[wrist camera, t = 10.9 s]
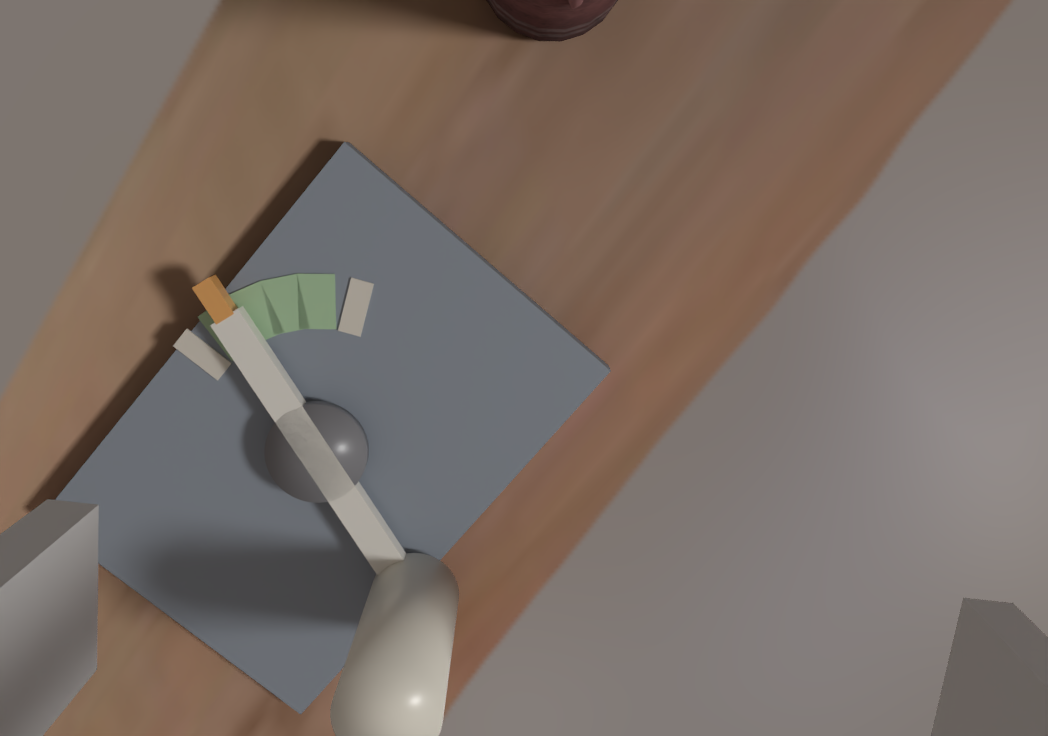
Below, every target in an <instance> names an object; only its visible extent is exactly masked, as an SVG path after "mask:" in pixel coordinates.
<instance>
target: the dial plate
mask: <svg viewBox="0 0 1048 736" xmlns="http://www.w3.org/2000/svg"><path fill="white" fill-rule="evenodd" d="M225 290H226V291H227V293H228V294H229V296H230V297H231V299H232V300H233V302H234V303H235V305H236V306H237V308H240V307H242V306H243V307H244V308H245V310H246V311H247V313H248V314H249V316H250V317H251V319H252V320H253V322H254V323H255V325H256V326H257V328H258V329H259V331H260V333H261V334H262V336H263V337H264V339H265V340H266V342H267V343H268V345H269V346H270V348H271V349H272V351H273V352H274V354H275V355H276V357H277V358H278V360H279V361H280V363H281V364H282V366H283V367H284V369H285V370H286V372H287V373H288V375H289V376H290V378H291V380H292V381H293V383H294V384H295V386H296V387H297V389H298V390H299V392H300V393H301V395H302V396H303V398H304V399H305V401H306V402H309V401H325V402H330V403H333V404H336V405H339V406H341V407H343V408H344V409H346V410H347V411H349V412H350V413H351V414H352V415H353V416H354V417H355V418H356V419H357V420H358V421H359V422H360V424H361V425H362V427H363V429H364V431H365V433H366V436H367V440H368V445H369V456H368V462H367V465H366V468H365V470H364V472H363V474H362V476H361V478H360V480H359V483H360V484H361V486H362V487H363V489H364V490H365V492H366V493H367V495H368V496H369V498H370V499H371V501H372V502H373V504H374V505H375V507H376V508H377V510H378V511H379V513H380V514H381V516H382V517H383V519H384V520H385V522H386V524H387V525H388V527H389V528H390V530H391V531H392V533H393V534H394V536H395V537H396V539H397V540H398V542H399V543H400V545H401V546H402V548H403V549H404V551H405V552H406V554H407V553H422V554H426V555H430V556H432V557H435V558H437V559H438V560H441V558H442V557H443V556H444V555H445V554H446V553H447V552H448V551H449V550H450V549H451V547H452V546H453V545H454V544H455V543H456V542H457V541H458V540H459V539H460V537H461V536H462V535H463V534H464V533H465V532H466V531H467V530H468V529H469V527H470V526H471V525H472V524H473V523H474V522H475V521H476V520H477V519H478V517H479V516H480V515H481V514H482V513H483V512H484V511H485V510H486V509H487V508H488V506H489V505H490V504H491V503H492V502H493V501H494V500H495V499H496V498H497V496H498V495H499V494H500V493H501V492H502V491H503V490H504V489H505V488H506V486H507V485H508V484H509V483H510V482H511V481H512V480H513V479H514V478H515V477H516V475H517V474H518V473H519V472H520V471H521V470H522V469H523V468H524V467H525V465H526V464H527V463H528V462H529V461H530V460H531V459H532V458H533V457H534V455H535V454H536V453H537V452H538V451H539V450H540V449H541V448H542V447H543V445H544V444H545V443H546V442H547V441H548V440H549V439H550V438H551V437H552V436H553V434H554V433H555V432H556V431H557V430H558V429H559V428H560V427H561V426H562V424H563V423H564V422H565V421H566V420H567V419H568V418H569V417H570V416H571V414H572V413H573V412H574V411H575V410H576V409H577V408H578V407H579V406H580V404H581V403H582V402H583V401H584V400H585V399H586V398H587V397H588V396H589V395H590V393H591V392H592V391H593V390H594V389H595V388H596V387H597V386H598V385H599V383H600V382H601V381H602V380H603V379H604V378H605V377H606V376H607V375H608V373H609V372H610V371H611V370H610V368H609V366H608V365H607V364H606V363H605V362H604V361H603V360H601V359H600V358H599V357H598V356H597V355H596V354H594V353H593V352H592V351H591V350H590V349H589V348H587V347H586V346H585V345H584V344H583V343H582V342H581V341H579V340H578V339H577V338H576V337H575V336H574V335H572V334H571V333H570V332H569V331H568V330H567V329H565V328H564V327H563V326H562V325H561V324H560V323H558V322H557V321H556V320H555V319H554V318H553V317H551V316H550V315H549V314H548V313H547V312H546V311H544V310H543V309H542V308H541V307H540V306H539V305H538V304H536V303H535V302H534V301H533V300H532V299H531V298H529V297H528V296H527V295H526V294H525V293H524V292H522V291H521V290H520V289H519V288H518V287H517V286H515V285H514V284H513V283H512V282H511V281H510V280H508V279H507V278H506V277H505V276H504V275H503V274H501V273H500V272H499V271H498V270H497V269H496V268H495V267H493V266H492V265H491V264H490V263H489V262H488V261H486V260H485V259H484V258H483V257H482V256H481V255H479V254H478V253H477V252H476V251H475V250H474V249H472V248H471V247H470V246H469V245H468V244H467V243H465V242H464V241H463V240H462V239H461V238H460V237H458V236H457V235H456V234H455V233H454V232H453V231H452V230H450V229H449V228H448V227H447V226H446V225H445V224H443V223H442V222H441V221H440V220H439V219H438V218H436V217H435V216H434V215H433V214H432V213H431V212H429V211H428V210H427V209H426V208H425V207H424V206H422V205H421V204H420V203H419V202H418V201H417V200H415V199H414V198H413V197H412V196H411V195H410V194H409V193H407V192H406V191H405V190H404V189H403V188H402V187H400V186H399V185H398V184H397V183H396V182H395V181H393V180H392V179H391V178H390V177H389V176H388V175H386V174H385V173H384V172H383V171H382V170H381V169H379V168H378V167H377V166H376V165H375V164H374V163H372V162H371V161H370V160H369V159H368V158H367V157H366V156H364V155H363V154H362V153H361V152H360V151H359V150H357V149H356V148H355V147H354V146H353V145H352V144H350V143H349V142H344V143H343V144H342V145H341V147H340V148H339V149H338V150H337V152H336V153H335V154H334V155H333V157H332V158H331V159H330V160H329V161H328V163H327V164H326V165H325V166H324V168H323V169H322V170H321V171H320V173H319V174H318V175H317V176H316V178H315V179H314V180H313V181H312V183H311V184H310V185H309V186H308V187H307V189H306V190H305V191H304V192H303V194H302V195H301V196H300V197H299V199H298V200H297V201H296V202H295V204H294V205H293V206H292V207H291V208H290V210H289V211H288V212H287V213H286V215H285V216H284V217H283V218H282V220H281V221H280V222H279V223H278V225H277V226H276V227H275V228H274V230H273V231H272V232H271V233H270V234H269V236H268V237H267V238H266V239H265V241H264V242H263V243H262V244H261V246H260V247H259V248H258V249H257V251H256V252H255V253H254V254H253V255H252V257H251V258H250V259H249V260H248V262H247V263H246V264H245V265H244V267H243V268H242V269H241V270H240V272H239V273H238V274H237V275H236V277H235V278H234V279H233V280H232V281H231V283H230V284H229V285H228V286H227V288H226V289H225ZM198 319H199V320H200V321H199V322H198V324H197V325H196V326H195V327H194V328H193V330H192V331H190V330H189V329H186V330H185V331H184V333H183V334H182V335H181V336H180V338H179V339H178V340H177V342H176V343H175V344H174V345H173V347H175V348H176V349H177V350H176V351H175V352H174V353H173V354H172V356H171V357H170V358H169V359H168V361H167V362H166V363H165V364H164V366H163V367H162V368H161V369H160V371H159V372H158V373H157V374H156V375H155V377H154V378H153V379H152V380H151V382H150V383H149V384H148V385H147V387H146V388H145V389H144V390H143V392H142V393H141V394H140V395H139V397H138V398H137V399H136V400H135V401H134V403H133V404H132V405H131V406H130V408H129V409H128V410H127V411H126V413H125V414H124V415H123V416H122V418H121V419H120V420H119V421H118V422H117V424H116V425H115V426H114V427H113V429H112V430H111V431H110V432H109V434H108V435H107V436H106V437H105V439H104V440H103V441H102V442H101V444H100V445H99V446H98V447H97V448H96V450H95V451H94V452H93V453H92V455H91V456H90V457H89V458H88V460H87V461H86V462H85V463H84V465H83V466H82V467H81V468H80V469H79V471H78V472H77V473H76V474H75V476H74V477H73V478H72V479H71V481H70V482H69V483H68V484H67V486H66V487H65V488H64V489H63V491H62V492H61V493H60V494H59V495H58V497H57V498H56V499H55V500H60V501H69V502H78V503H88V504H97V505H99V523H98V563H99V564H100V565H102V566H103V567H104V568H106V569H107V570H108V571H110V572H111V573H112V574H114V575H115V576H116V577H118V578H119V579H120V580H122V581H123V582H124V583H126V584H127V585H128V586H130V587H131V588H132V589H134V590H135V591H136V592H138V593H139V594H140V595H142V596H143V597H144V598H146V599H147V600H148V601H150V602H151V603H152V604H154V605H155V606H156V607H158V608H159V609H160V610H162V611H163V612H164V613H166V614H167V615H168V616H170V617H171V618H172V619H174V620H175V621H176V622H178V623H179V624H180V625H182V626H183V627H184V628H186V629H187V630H188V631H190V632H191V633H192V634H194V635H195V636H197V637H198V638H199V639H201V640H202V641H203V642H205V643H206V644H207V645H209V646H210V647H211V648H213V649H214V650H215V651H217V652H218V653H219V654H221V655H222V656H223V657H225V658H226V659H227V660H229V661H230V662H231V663H233V664H234V665H235V666H237V667H238V668H239V669H241V670H242V671H243V672H245V673H246V674H247V675H249V676H250V677H251V678H253V679H254V680H255V681H257V682H258V683H259V684H261V685H262V686H263V687H265V688H266V689H267V690H269V691H270V692H271V693H273V694H274V695H275V696H277V697H278V698H279V699H281V700H282V701H283V702H285V703H286V704H287V705H289V706H290V707H291V708H293V709H294V710H295V711H297V712H298V713H299V714H302V713H303V711H304V710H305V709H306V708H307V707H308V706H309V705H310V704H311V703H312V701H313V700H314V699H315V698H316V697H317V696H318V695H319V694H320V693H321V691H322V690H323V689H324V688H325V687H326V686H327V685H328V684H329V683H330V681H331V680H332V679H333V678H334V677H335V676H336V675H337V674H338V673H339V672H340V670H341V669H342V668H343V667H344V665H345V662H346V659H347V656H348V653H349V650H350V647H351V644H352V642H353V639H354V636H355V633H356V630H357V627H358V624H359V621H360V618H361V615H362V612H363V609H364V606H365V603H366V601H367V598H368V595H369V592H370V589H371V586H372V583H373V580H374V578H375V576H376V572H375V571H374V570H373V568H372V567H371V565H370V564H369V562H368V561H367V559H366V558H365V556H364V555H363V553H362V552H361V550H360V549H359V547H358V546H357V544H356V543H355V541H354V540H353V538H352V537H351V535H350V534H349V532H348V531H347V529H346V528H345V526H344V525H343V523H342V522H341V520H340V519H339V517H338V516H337V514H336V513H335V511H334V510H333V508H332V507H331V505H330V504H329V502H322V503H313V502H306V501H302V500H299V499H297V498H294V497H292V496H291V495H289V494H287V493H286V492H285V491H283V490H282V489H281V488H280V487H279V486H278V485H277V484H276V483H275V481H274V480H273V479H272V477H271V475H270V473H269V471H268V469H267V466H266V462H265V455H264V449H265V442H266V438H267V435H268V433H269V431H270V429H271V428H272V426H273V425H274V423H275V422H274V420H273V419H272V417H271V416H270V414H269V413H268V411H267V410H266V408H265V407H264V405H263V404H262V402H261V401H260V399H259V398H258V396H257V395H256V393H255V392H254V390H253V389H252V387H251V386H250V384H249V383H248V381H247V380H246V378H245V377H244V375H243V374H242V372H241V371H240V369H239V368H238V366H237V365H236V363H235V362H234V360H233V359H232V357H231V356H230V354H229V353H228V352H227V350H226V349H225V347H224V346H223V344H222V343H221V341H220V340H219V338H218V337H217V335H216V334H215V332H214V331H213V329H212V328H211V326H210V325H212V324H213V323H215V322H214V321H213V319H212V318H211V316H210V315H209V313H208V312H207V310H206V311H205V312H203V313H202V314H201V315H199V316H198Z"/></svg>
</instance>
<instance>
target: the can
mask: <svg viewBox="0 0 1048 736" xmlns="http://www.w3.org/2000/svg"><path fill="white" fill-rule="evenodd" d="M487 1H488V3H489V4H490V6H491V8H492V9H493V11H494V12H495V14H496V15H497V17H498V18H499V19H500V20H502V21H503V22H504V23H505V24H507V25H508V26H509V27H510V28H512V29H513V30H514V31H515V32H517V33H519V34H522V35H525V36H527V37H530V38H533V39H535V40H538V41H564V40H567V39H570V38H573V37H577V36H580V35H583V34H585V33H586V32H587V31H589V30H590V29H592V28H593V27H595V26H596V25H597V24H599V23H600V22H602V21H603V19H604V18H605V17H606V15H607V14H608V13H609V11H610V10H611V9H612V7H613V6H614V5H615V4H616V2H617V1H618V0H487Z"/></svg>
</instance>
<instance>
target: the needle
mask: <svg viewBox="0 0 1048 736" xmlns="http://www.w3.org/2000/svg"><path fill="white" fill-rule="evenodd" d="M192 289H193V291H194V292H195V294H196V295H197V297H198V298H199V300H200V301H201V303H202V304H203V306H204V307H205V309H206V310H207V312H208V313H209V315H210V316H211V318H212V319H213V321H214V322H215V323H213V324H212V325H210V326H211V328H212V329H213V331H214V332H215V334H216V335H217V337H218V338H219V340H220V341H221V343H222V344H223V346H224V347H225V349H226V350H227V352H228V353H229V354H230V356H231V357H232V359H233V360H234V362H235V363H236V365H237V366H238V368H239V369H240V371H241V372H242V374H243V375H244V377H245V378H246V380H247V381H248V383H249V384H250V386H251V387H252V389H253V390H254V392H255V393H256V395H257V396H258V398H259V399H260V401H261V402H262V404H263V405H264V407H265V408H266V410H267V411H268V413H269V414H270V416H271V417H272V419H273V420H274V422H275V423H274V425H273V426H272V428H271V429H270V431H269V433H268V435H267V438H266V442H265V449H264V455H265V462H266V466H267V469H268V471H269V473H270V475H271V477H272V479H273V480H274V481H275V483H276V484H277V485H278V486H279V487H280V488H281V489H282V490H283V491H285V492H286V493H287V494H289V495H291V496H292V497H294V498H297V499H299V500H302V501H306V502H313V503H322V502H329V504H330V505H331V507H332V508H333V510H334V511H335V513H336V514H337V516H338V517H339V519H340V520H341V522H342V523H343V525H344V526H345V528H346V529H347V531H348V532H349V534H350V535H351V537H352V538H353V540H354V541H355V543H356V544H357V546H358V547H359V549H360V550H361V552H362V553H363V555H364V556H365V558H366V559H367V561H368V562H369V564H370V565H371V567H372V568H373V570H374V571H375V572H376V576H375V578H374V580H373V583H372V586H371V589H370V592H369V595H368V598H367V601H366V603H365V606H364V609H363V612H362V615H361V618H360V621H359V624H358V627H357V630H356V633H355V636H354V639H353V642H352V644H351V647H350V650H349V653H348V656H347V659H346V662H345V665H344V668H343V671H342V674H341V677H340V680H339V683H338V686H337V688H336V691H335V694H334V697H333V700H332V704H331V714H330V717H331V724H332V727H333V730H334V733H335V735H336V736H439V734H440V731H441V728H442V722H443V715H444V708H445V700H446V692H447V685H448V677H449V669H450V662H451V654H452V647H453V639H454V631H455V624H456V616H457V608H458V601H459V588H458V584H457V581H456V579H455V577H454V575H453V573H452V572H451V570H450V569H449V568H448V567H447V566H446V565H445V564H444V563H443V562H441V561H440V560H438V559H437V558H435V557H432V556H430V555H426V554H422V553H407V554H406V552H405V551H404V549H403V548H402V546H401V545H400V543H399V542H398V540H397V539H396V537H395V536H394V534H393V533H392V531H391V530H390V528H389V527H388V525H387V524H386V522H385V520H384V519H383V517H382V516H381V514H380V513H379V511H378V510H377V508H376V507H375V505H374V504H373V502H372V501H371V499H370V498H369V496H368V495H367V493H366V492H365V490H364V489H363V487H362V486H361V484H360V483H359V480H360V478H361V476H362V474H363V472H364V470H365V468H366V465H367V462H368V456H369V445H368V440H367V436H366V433H365V431H364V429H363V427H362V425H361V424H360V422H359V421H358V420H357V419H356V418H355V417H354V416H353V415H352V414H351V413H350V412H349V411H347V410H346V409H344V408H343V407H341V406H339V405H336V404H333V403H330V402H325V401H309V402H306V401H305V399H304V398H303V396H302V395H301V393H300V392H299V390H298V389H297V387H296V386H295V384H294V383H293V381H292V380H291V378H290V376H289V375H288V373H287V372H286V370H285V369H284V367H283V366H282V364H281V363H280V361H279V360H278V358H277V357H276V355H275V354H274V352H273V351H272V349H271V348H270V346H269V345H268V343H267V342H266V340H265V339H264V337H263V336H262V334H261V333H260V331H259V329H258V328H257V326H256V325H255V323H254V322H253V320H252V319H251V317H250V316H249V314H248V313H247V311H246V310H245V308H244V307H243V306H242V307H240V308H237V306H236V305H235V303H234V302H233V300H232V299H231V297H230V296H229V294H228V293H227V291H226V290H225V288H224V287H223V285H222V284H221V282H220V280H219V279H218V277H217V276H216V275H214V276H211V277H209V278H207V279H206V280H204V281H202V282H201V283H199V284H198V285H196V286H194V287H193V288H192Z"/></svg>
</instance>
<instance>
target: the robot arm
mask: <svg viewBox="0 0 1048 736" xmlns="http://www.w3.org/2000/svg"><path fill="white" fill-rule="evenodd" d="M98 523H99V505H97V504H88V503H78V502H69V501H60V500H51V499H47V500H46V501H44V502H43V503H42V504H40V505H39V506H38V507H36V508H35V509H34V510H32V511H31V512H30V513H28V514H27V515H26V516H24V517H23V518H22V519H20V520H19V521H18V522H16V523H15V524H14V525H12V526H11V527H9V528H8V529H7V530H5V531H4V532H3V533H1V534H0V736H43V735H44V733H45V732H46V731H47V730H48V729H49V727H50V726H51V725H52V724H53V722H54V721H55V720H56V719H57V718H58V716H59V715H60V714H61V713H62V711H63V710H64V709H65V708H66V707H67V705H68V704H69V703H70V702H71V701H72V699H73V698H74V697H75V696H76V694H77V693H78V692H79V691H80V690H81V688H82V687H83V686H84V685H85V683H86V682H87V681H88V680H89V679H90V677H91V676H92V675H93V674H94V672H95V671H96V670H97V614H98ZM931 736H1048V637H1047V636H1046V635H1045V634H1044V633H1043V632H1042V631H1041V630H1040V629H1039V628H1038V627H1037V626H1036V625H1035V624H1034V623H1033V622H1031V620H1030V619H1029V618H1028V617H1027V616H1026V615H1025V614H1024V613H1022V612H1021V610H1019V609H1018V608H1017V607H1016V606H1015V605H1014V604H1013V603H1006V602H998V601H988V600H979V599H970V598H963V601H962V606H961V610H960V614H959V618H958V623H957V627H956V631H955V635H954V639H953V644H952V648H951V652H950V657H949V661H948V666H947V670H946V674H945V678H944V682H943V686H942V690H941V695H940V699H939V703H938V708H937V712H936V716H935V720H934V725H933V729H932V733H931Z"/></svg>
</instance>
